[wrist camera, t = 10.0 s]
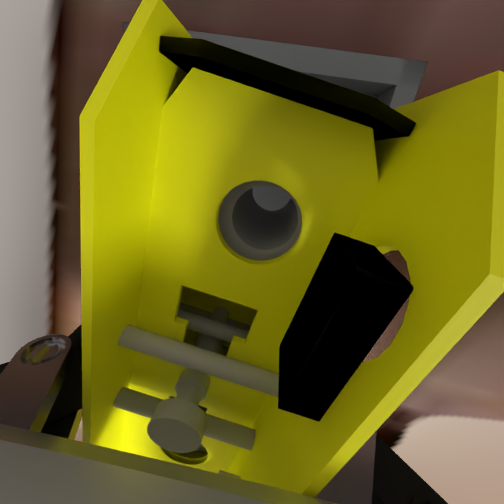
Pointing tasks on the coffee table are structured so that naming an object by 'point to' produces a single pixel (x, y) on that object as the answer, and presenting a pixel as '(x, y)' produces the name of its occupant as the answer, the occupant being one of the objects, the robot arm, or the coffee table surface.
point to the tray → (328, 79)
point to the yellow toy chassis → (272, 253)
